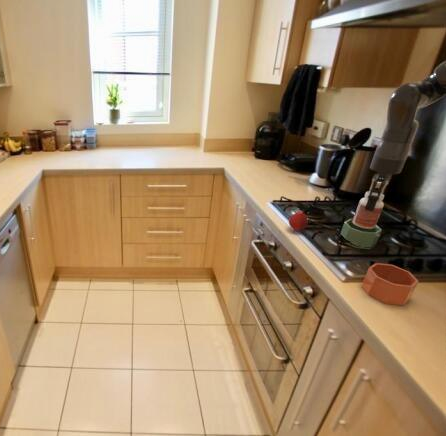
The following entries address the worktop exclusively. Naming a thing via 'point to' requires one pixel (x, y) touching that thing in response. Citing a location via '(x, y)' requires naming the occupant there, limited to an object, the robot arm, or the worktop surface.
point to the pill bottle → (368, 212)
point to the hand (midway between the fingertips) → (370, 206)
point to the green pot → (360, 235)
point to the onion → (298, 221)
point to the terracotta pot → (389, 284)
